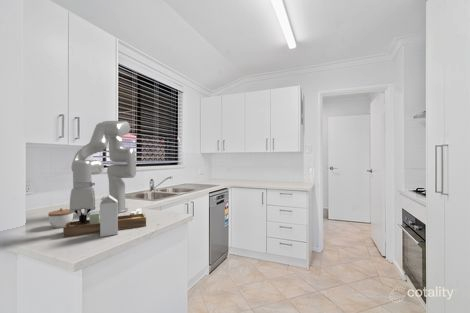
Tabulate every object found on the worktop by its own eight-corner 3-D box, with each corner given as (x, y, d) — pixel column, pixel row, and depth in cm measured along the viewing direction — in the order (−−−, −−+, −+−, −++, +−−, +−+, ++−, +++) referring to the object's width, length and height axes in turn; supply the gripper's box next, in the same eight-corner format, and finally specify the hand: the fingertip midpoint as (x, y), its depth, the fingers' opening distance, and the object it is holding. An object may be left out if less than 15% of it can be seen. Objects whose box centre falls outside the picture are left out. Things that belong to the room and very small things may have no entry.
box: (68, 231, 112) (68, 222, 112) (144, 221, 127) (144, 213, 127) (63, 237, 103) (63, 227, 103) (146, 226, 118) (145, 217, 118)
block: (90, 222, 115) (90, 213, 115) (99, 221, 117) (99, 212, 117) (89, 224, 112) (89, 214, 112) (98, 223, 113) (98, 213, 113)
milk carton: (117, 230, 112) (117, 191, 112) (117, 234, 106) (117, 194, 106) (101, 232, 109) (100, 193, 109) (100, 237, 103) (99, 195, 103)
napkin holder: (139, 215, 142) (139, 206, 142) (152, 218, 136) (152, 208, 136) (116, 222, 129) (116, 211, 129) (129, 224, 123) (129, 214, 123)
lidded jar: (53, 224, 124) (53, 207, 124) (76, 222, 127) (76, 205, 127) (44, 230, 114) (44, 211, 114) (70, 227, 117) (69, 209, 117)
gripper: (100, 183, 119) (101, 219, 119) (65, 185, 112) (66, 223, 112) (99, 185, 112) (99, 222, 112) (61, 187, 105) (62, 227, 106)
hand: (83, 222), depth 112 cm, fingers closed
